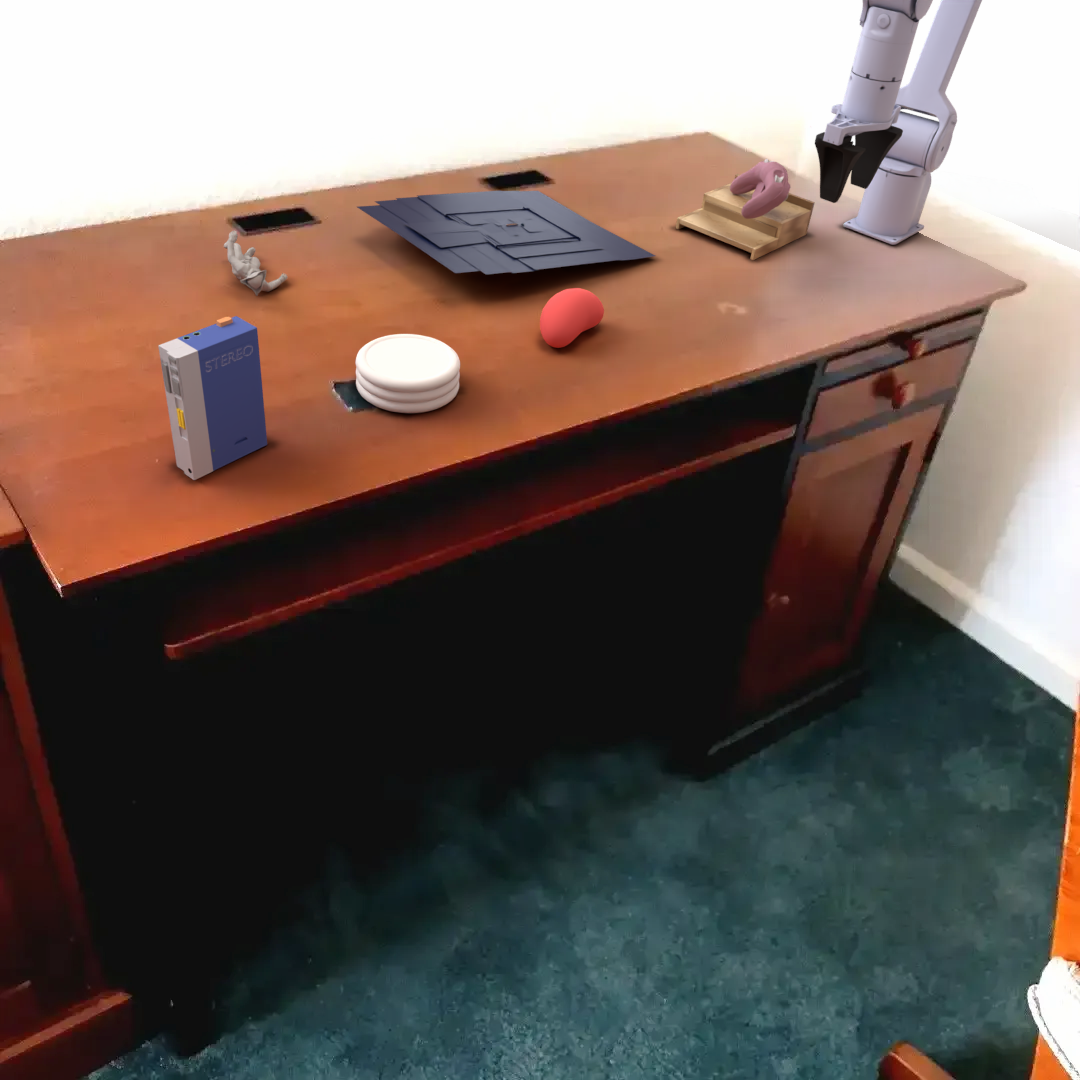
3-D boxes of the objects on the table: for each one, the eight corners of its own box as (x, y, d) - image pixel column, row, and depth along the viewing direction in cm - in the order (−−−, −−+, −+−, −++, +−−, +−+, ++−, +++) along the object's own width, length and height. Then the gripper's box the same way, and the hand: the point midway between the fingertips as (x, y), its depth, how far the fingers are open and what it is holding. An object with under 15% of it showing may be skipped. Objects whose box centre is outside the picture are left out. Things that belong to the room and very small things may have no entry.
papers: (346, 223, 130) (348, 193, 128) (532, 209, 148) (537, 183, 146) (461, 303, 116) (466, 272, 114) (652, 277, 134) (659, 249, 132)
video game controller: (766, 233, 138) (801, 188, 134) (739, 216, 136) (774, 169, 132) (751, 204, 145) (785, 160, 142) (725, 187, 144) (758, 142, 140)
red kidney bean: (520, 341, 116) (524, 309, 110) (575, 293, 119) (583, 260, 113) (554, 371, 115) (561, 341, 109) (609, 322, 118) (618, 290, 112)
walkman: (247, 432, 95) (235, 311, 88) (267, 445, 94) (257, 323, 87) (173, 467, 90) (153, 342, 83) (193, 481, 89) (175, 355, 82)
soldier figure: (276, 265, 124) (306, 277, 114) (251, 299, 124) (279, 313, 114) (221, 221, 120) (248, 229, 110) (195, 255, 120) (220, 266, 110)
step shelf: (730, 205, 150) (737, 173, 147) (806, 234, 144) (814, 202, 141) (675, 228, 141) (681, 195, 138) (753, 260, 135) (761, 226, 133)
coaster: (413, 352, 109) (413, 322, 107) (479, 393, 104) (481, 361, 102) (335, 383, 103) (333, 351, 101) (401, 427, 98) (402, 395, 96)
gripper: (874, 56, 126) (843, 170, 134) (813, 74, 117) (784, 195, 125) (929, 71, 122) (894, 187, 131) (870, 92, 113) (836, 214, 122)
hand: (844, 192), depth 128 cm, fingers open, 7 cm apart
